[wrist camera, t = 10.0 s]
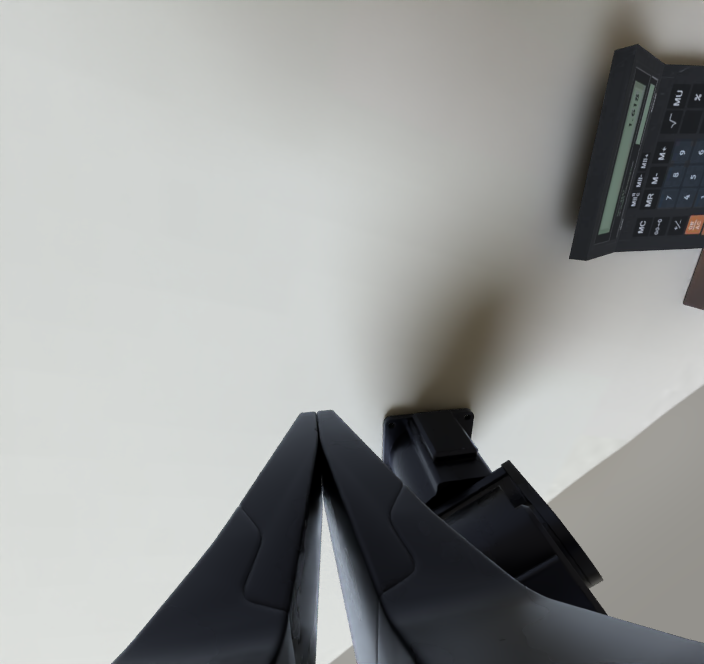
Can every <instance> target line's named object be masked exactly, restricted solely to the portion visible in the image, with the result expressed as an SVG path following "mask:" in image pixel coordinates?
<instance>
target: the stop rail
mask: <svg viewBox="0 0 704 664" xmlns="http://www.w3.org/2000/svg"><path fill="white" fill-rule="evenodd" d="M683 304H684V305H687V306H691V307H695V308H698V309H702V310H704V248H703V250H702V253H701V256H700V259H699V261H698V264H697V267H696V270H695V272H694V275H693V278H692V281H691V283H690V286H689V289H688V292H687V294H686V297H685V300H684V303H683Z"/></svg>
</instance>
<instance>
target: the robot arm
mask: <svg viewBox="0 0 704 664" xmlns="http://www.w3.org/2000/svg"><path fill="white" fill-rule="evenodd" d="M465 415H467V416H466V417H464V416H465ZM473 420H474V414H473V413H472V412H471V410H470V409H467V408H464V409H455V410H442V411H433V412H423V413H416V414H407V415H397V416H389V417H387V418H386V419H385V420H384V423H383V461H382V460H381V459H380V458H379V457H378V456H377V455H376V454H375V453H374V452H373V451H372V450H371V449H370V448H369V447H368V446H367V445H366V444H365V443H364V442H363V441H362V440H361V439H360V438H359V437H358V436H357V435H356V434H355V433H354V432H353V431H352V430H351V428H350V427H349V426H348V425H347V424H346V423H345V422H344V421H343V420H342V419H341V418H340V417H339V416H338V415H337V414H336V413H335V412H334V411H333V410H325V411H318V412H317V414H316V412H305V413H301V414H299V416H298V417H297V419H296V420H295V422H294V423H293V425H292V426H291V428H290V429H289V431H288V432H287V434H286V435H285V437H284V438H283V440H282V441H281V443H280V444H279V446H278V447H277V449H276V450H275V452H274V453H273V455H272V456H271V458H270V459H269V461H268V462H267V464H266V465H265V467H264V468H263V470H262V471H261V473H260V474H259V476H258V477H257V479H256V481H255V482H254V484H253V485H252V487H251V488H250V490H249V491H248V493H247V494H246V496H245V497H244V499H243V500H242V502H241V503H240V505H239V507H237V509H236V510H235V512H234V513H233V515H232V516H231V518H230V519H229V521H228V522H227V524H226V525H225V526H224V528H223V529H222V531H221V532H220V534H219V535H218V536H217V538H216V539H215V541H214V542H213V543H212V545H211V546H210V547H209V548H208V550H207V551H206V552H205V553H204V555H203V556H202V557H201V559H200V560H199V561H198V562H197V564H196V565H195V566H194V567H193V569H192V570H191V571H190V572H189V573H188V575H187V576H186V577H185V578H184V580H183V581H182V582H181V583H180V584H179V586H178V587H177V588H176V589H175V590H174V592H173V593H172V594H171V595H170V596H169V598H168V599H167V600H166V601H165V603H164V604H163V605H162V606H161V607H160V609H159V610H158V611H157V612H156V613H155V615H154V616H153V617H152V618H151V619H150V621H149V622H148V623H147V624H146V626H145V627H144V628H143V629H142V630H141V632H140V633H139V634H138V635H137V636H136V638H135V639H134V640H133V641H132V642H131V643H130V644H129V646H128V647H127V648H126V649H125V650H124V651H123V652H122V653H121V654H120V655H119V656H118V657H117V658H116V659H115V660H114V661H113V662H112V663H111V664H315V661H316V639H317V618H318V597H319V575H320V554H321V532H322V511H323V501H324V506H325V512H326V517H327V522H328V526H329V531H330V536H331V541H332V546H333V550H334V555H335V560H336V565H337V570H338V574H339V579H340V584H341V589H342V594H343V599H344V603H345V608H346V613H347V618H348V623H349V627H350V632H351V637H352V642H353V647H354V651H355V656H356V661H357V664H704V643H702V642H698V641H694V640H689V639H686V638H682V637H679V636H676V635H672V634H669V633H665V632H662V631H658V630H655V629H652V628H648V627H645V626H641V625H638V624H634V623H631V622H628V621H624V620H621V619H617V618H614V617H611V616H608V615H607V614H606V612H605V611H604V609H603V608H602V607H601V605H600V604H599V602H598V601H597V600H596V598H595V597H594V596H593V594H592V593H591V591H590V590H589V588H591V587H592V586H594V585H595V584H598V583H599V582H601V581H603V579H602V577H601V575H600V574H599V572H598V571H597V569H596V568H595V566H594V565H593V563H592V562H591V561H590V559H589V558H588V556H587V555H586V554H585V552H584V551H583V550H582V548H581V547H580V546H579V544H578V543H577V542H576V540H575V539H574V538H573V536H572V535H571V534H570V532H569V531H568V530H567V528H566V527H565V526H564V525H563V523H562V522H561V521H560V519H559V518H558V517H557V516H556V514H555V513H554V512H553V511H552V510H551V508H550V507H549V506H548V505H547V504H546V502H545V501H544V500H543V499H542V498H541V497H540V495H539V494H538V493H537V492H536V491H535V490H534V488H533V487H532V486H531V485H530V484H529V483H528V482H527V480H526V479H525V478H524V477H523V476H522V475H521V473H520V472H519V471H518V470H517V469H516V468H515V466H514V465H513V464H512V463H511V462H510V461H509V460H508V461H506V462H505V463H503V464H501V466H502V467H500V468H498V469H497V470H495V471H494V472H492V471H491V470H490V468H489V467H488V466H487V464H486V463H485V461H484V460H483V458H482V457H481V456H480V454H479V453H478V449H477V447H476V446H475V445H474V443H473V442H472V440H471V434H472V427H473ZM390 423H393V424H392V425H389V424H390ZM321 479H322V480H321ZM322 492H323V497H322Z"/></svg>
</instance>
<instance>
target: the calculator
mask: <svg viewBox="0 0 704 664" xmlns="http://www.w3.org/2000/svg"><path fill="white" fill-rule="evenodd" d="M694 248H704V66H694V65H667V64H664V63H662V62H661V61H660V60H658V59H657V58H656V57H655V56H653V55H652V54H651V53H649V52H648V51H647V50H645V49H644V48H643V47H641V46H640V45H639V44H636V45H633V46H629V47H625V48H622V49H618V50H615V51H614V56H613V61H612V65H611V70H610V74H609V79H608V83H607V88H606V92H605V97H604V102H603V106H602V111H601V115H600V120H599V124H598V129H597V133H596V138H595V143H594V147H593V152H592V156H591V161H590V165H589V170H588V174H587V179H586V183H585V188H584V193H583V197H582V202H581V206H580V211H579V215H578V220H577V224H576V229H575V234H574V238H573V243H572V247H571V252H570V256H569V259H575V260H584V261H587V260H590V259H594V258H597V257H600V256H603V255H607V254H610V253H613V252H626V251H648V250H671V249H694Z"/></svg>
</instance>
